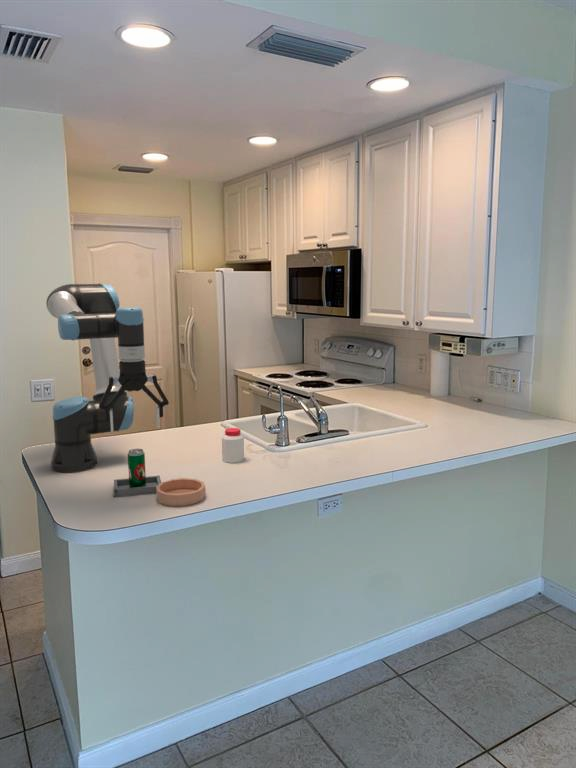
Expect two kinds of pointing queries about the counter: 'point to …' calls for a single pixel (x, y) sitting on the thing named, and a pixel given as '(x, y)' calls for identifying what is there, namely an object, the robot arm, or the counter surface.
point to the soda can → (136, 468)
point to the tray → (124, 490)
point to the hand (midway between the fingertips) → (135, 429)
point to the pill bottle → (232, 446)
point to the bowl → (180, 492)
